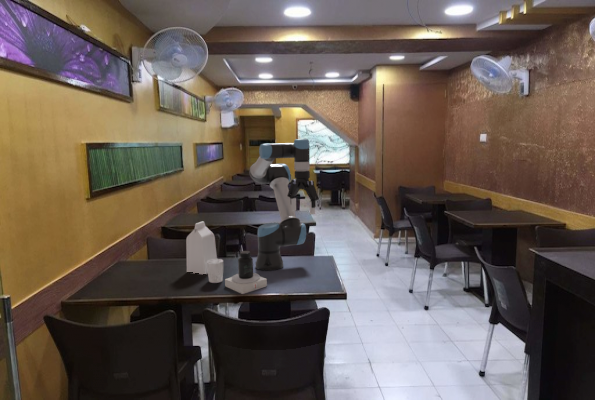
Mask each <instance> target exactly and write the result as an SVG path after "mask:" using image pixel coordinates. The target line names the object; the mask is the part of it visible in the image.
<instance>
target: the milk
mask: <svg viewBox="0 0 595 400" xmlns="http://www.w3.org/2000/svg"><path fill="white" fill-rule="evenodd" d="M205 222H206V221H203V220H202V221H199V222H196V223H195V224H194V229H192V231H191V232H190V233H189V234H188V235H187V236H186V244H185V245H186V249H185V250H186V273H187V272H193V273H192V274H195V273H199V274H198V275H203V274H206V275H208V269H207V261H208V260H211V259H218V256H217V255H218V254H217V248H216V247H217V246H216V237H215V234H214V233H213V231H211V230H210V229H209V228H208V226H206V223H205Z"/></svg>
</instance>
